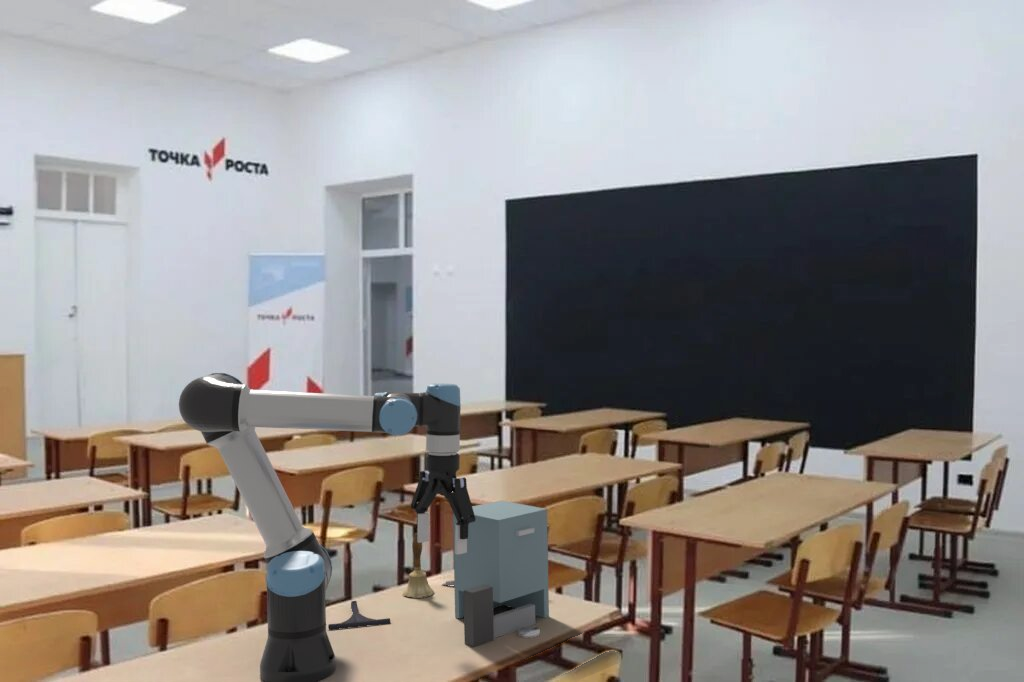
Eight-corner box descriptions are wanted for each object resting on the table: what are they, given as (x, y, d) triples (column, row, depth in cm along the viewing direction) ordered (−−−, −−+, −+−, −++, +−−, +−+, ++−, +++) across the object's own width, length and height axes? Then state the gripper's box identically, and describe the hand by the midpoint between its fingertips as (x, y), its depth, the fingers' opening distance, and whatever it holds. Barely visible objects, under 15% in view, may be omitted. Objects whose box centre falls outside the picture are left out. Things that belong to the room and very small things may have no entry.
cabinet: (503, 634, 205) (501, 520, 205) (455, 617, 218) (453, 510, 217) (552, 617, 216) (550, 509, 216) (503, 602, 229) (501, 500, 228)
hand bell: (398, 591, 240) (397, 532, 239) (428, 587, 243) (427, 528, 243) (407, 600, 232) (406, 538, 232) (438, 595, 235) (437, 535, 235)
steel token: (530, 640, 202) (530, 635, 202) (513, 636, 205) (513, 630, 205) (544, 634, 206) (544, 629, 206) (528, 630, 209) (527, 625, 209)
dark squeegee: (382, 607, 229) (382, 596, 229) (390, 626, 214) (390, 614, 214) (324, 613, 225) (324, 602, 225) (328, 633, 210) (328, 621, 210)
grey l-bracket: (473, 647, 198) (472, 592, 197) (464, 643, 200) (463, 590, 200) (537, 624, 211) (536, 573, 211) (528, 621, 214) (527, 571, 213)
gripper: (492, 458, 195) (490, 555, 196) (422, 445, 213) (421, 534, 214) (465, 461, 190) (464, 561, 190) (396, 448, 208) (395, 539, 209)
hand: (441, 547), depth 202 cm, fingers open, 13 cm apart
